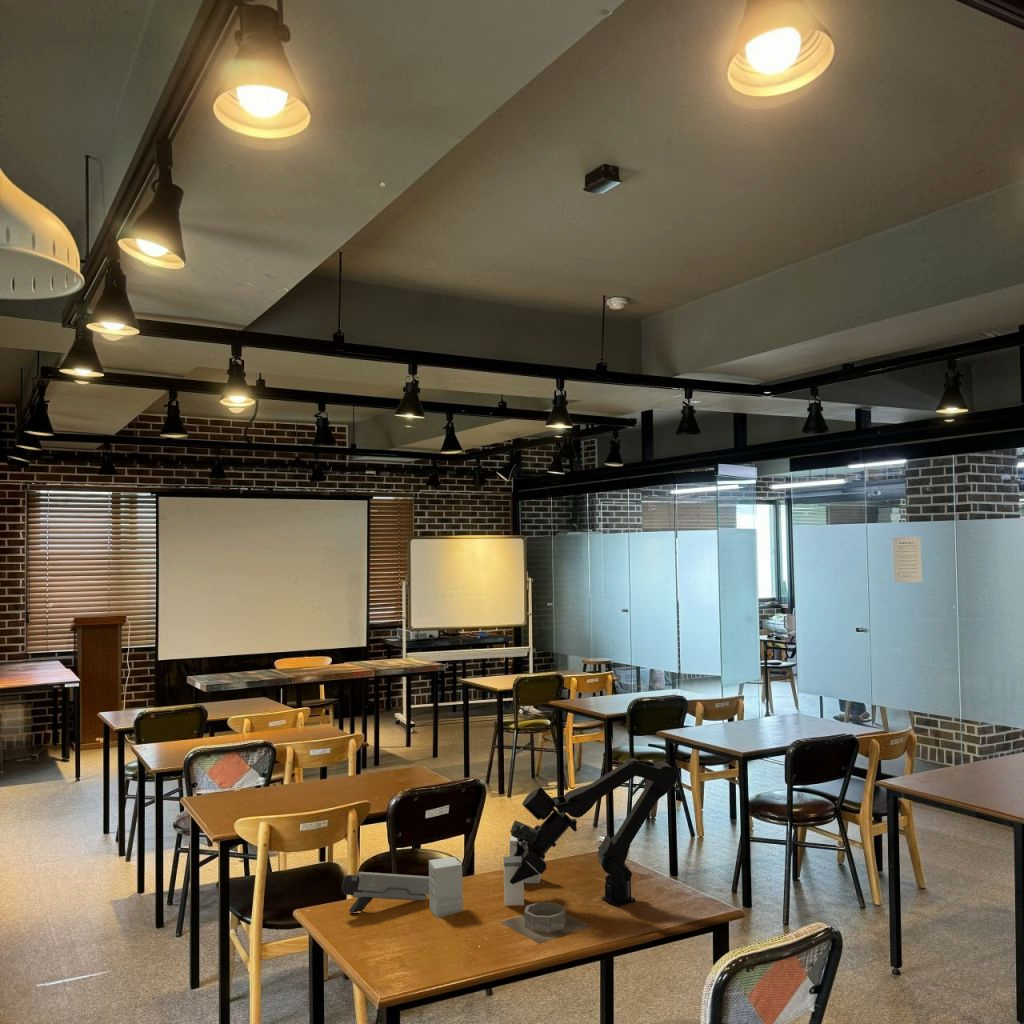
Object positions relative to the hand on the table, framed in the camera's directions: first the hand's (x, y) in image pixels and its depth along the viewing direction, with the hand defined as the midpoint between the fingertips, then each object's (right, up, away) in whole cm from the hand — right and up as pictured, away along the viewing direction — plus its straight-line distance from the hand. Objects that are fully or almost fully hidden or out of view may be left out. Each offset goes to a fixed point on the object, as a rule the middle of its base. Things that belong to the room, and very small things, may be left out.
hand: (509, 876), depth 231 cm
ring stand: (+9, -6, -16) cm, 19 cm away
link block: (+1, -8, 0) cm, 8 cm away
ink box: (+4, -9, +19) cm, 22 cm away
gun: (-32, -9, +1) cm, 33 cm away
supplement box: (-16, -8, -3) cm, 18 cm away
